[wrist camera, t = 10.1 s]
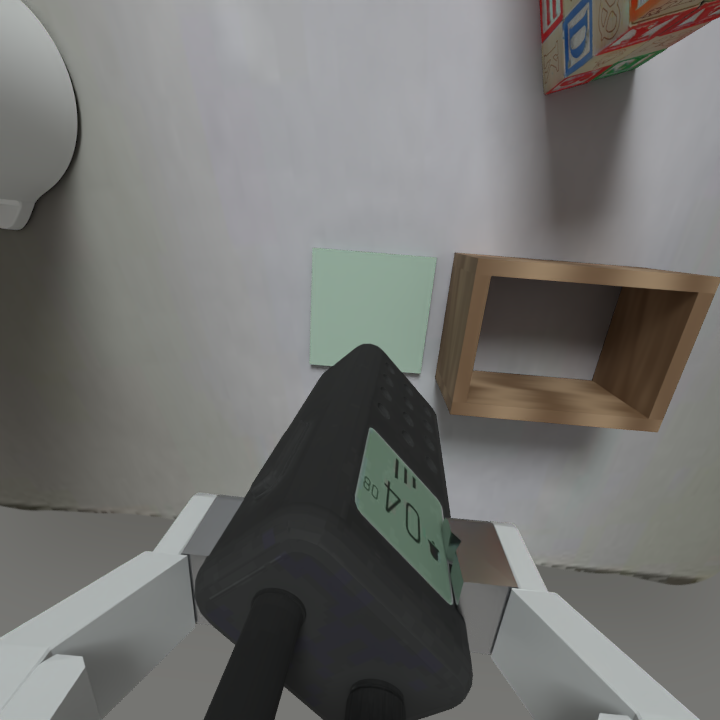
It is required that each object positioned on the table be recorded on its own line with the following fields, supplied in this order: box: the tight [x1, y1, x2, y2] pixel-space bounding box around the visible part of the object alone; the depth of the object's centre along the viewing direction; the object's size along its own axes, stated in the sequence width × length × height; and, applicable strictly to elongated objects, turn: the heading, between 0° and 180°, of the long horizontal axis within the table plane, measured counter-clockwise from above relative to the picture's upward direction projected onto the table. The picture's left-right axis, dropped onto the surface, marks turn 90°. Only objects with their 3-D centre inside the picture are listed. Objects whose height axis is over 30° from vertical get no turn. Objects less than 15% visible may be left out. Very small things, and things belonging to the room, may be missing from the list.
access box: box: [435, 253, 720, 432], centre depth 27 cm, size 15×11×7 cm
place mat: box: [310, 248, 437, 374], centre depth 30 cm, size 10×10×1 cm
